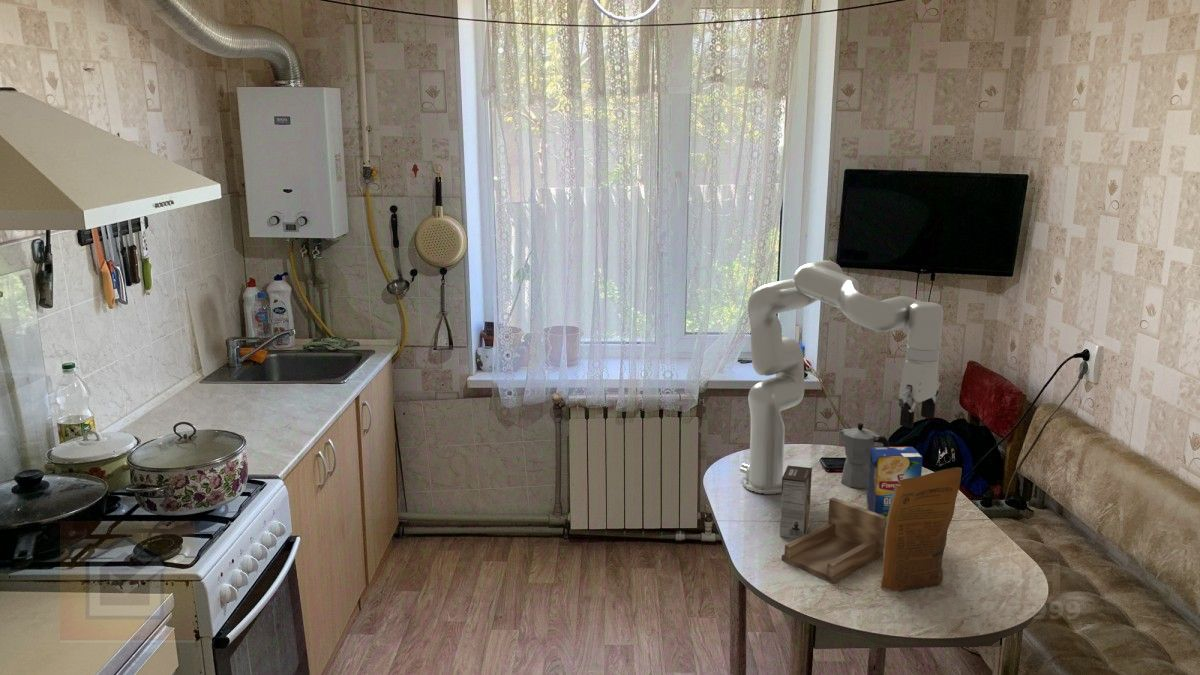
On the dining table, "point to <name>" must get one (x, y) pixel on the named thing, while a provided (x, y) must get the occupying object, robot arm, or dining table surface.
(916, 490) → the pancake mix bag
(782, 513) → the coffee box
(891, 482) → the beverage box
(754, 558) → the dining table surface
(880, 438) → the coffeepot
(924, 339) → the robot arm
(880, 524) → the wooden tray
